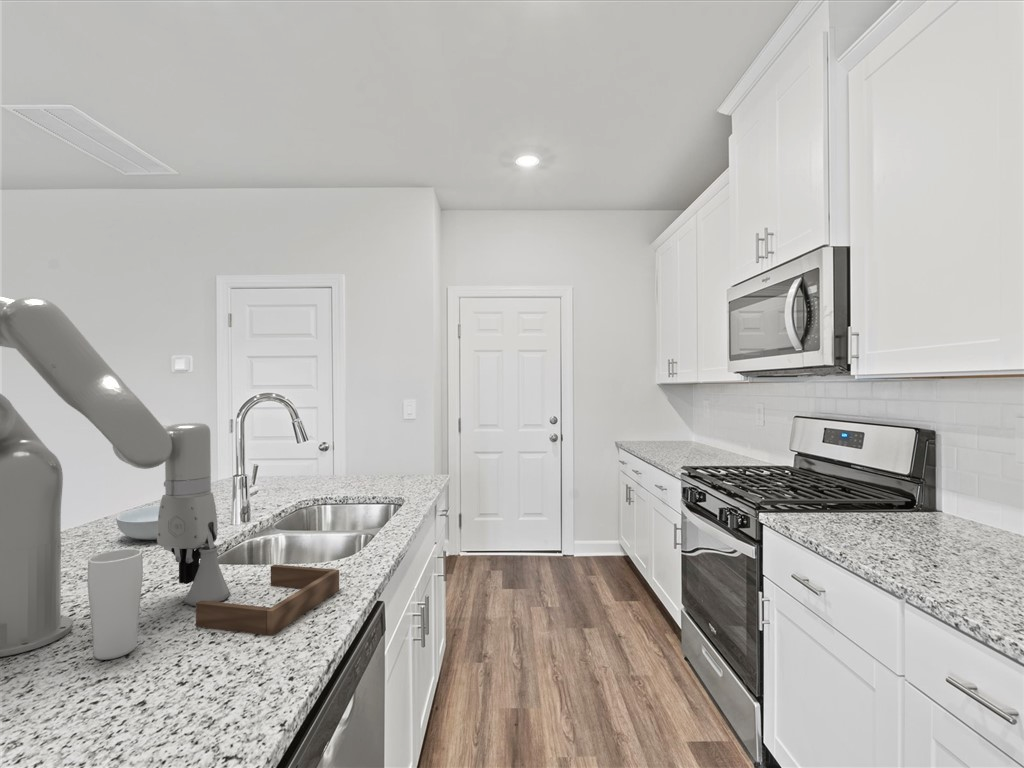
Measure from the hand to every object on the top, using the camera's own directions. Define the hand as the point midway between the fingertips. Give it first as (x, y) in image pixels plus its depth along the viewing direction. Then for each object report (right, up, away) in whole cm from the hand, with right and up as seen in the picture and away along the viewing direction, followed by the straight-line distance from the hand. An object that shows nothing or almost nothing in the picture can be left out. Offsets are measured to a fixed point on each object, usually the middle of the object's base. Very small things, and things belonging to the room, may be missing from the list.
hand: (189, 580), depth 101 cm
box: (+18, -3, -4) cm, 19 cm away
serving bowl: (-35, -4, +44) cm, 56 cm away
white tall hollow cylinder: (+2, -3, -21) cm, 22 cm away
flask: (+4, -3, -1) cm, 6 cm away
